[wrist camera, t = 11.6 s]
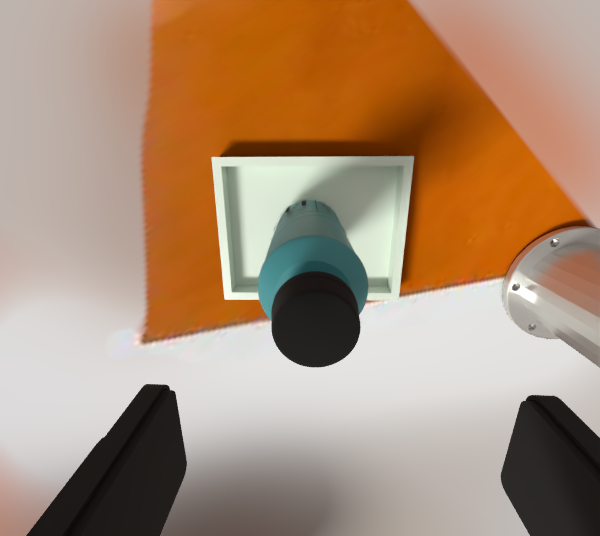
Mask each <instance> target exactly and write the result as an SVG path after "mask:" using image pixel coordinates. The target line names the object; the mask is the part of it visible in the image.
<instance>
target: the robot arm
mask: <svg viewBox="0 0 600 536" xmlns="http://www.w3.org/2000/svg"><path fill="white" fill-rule="evenodd" d="M502 298H503V304H504V308H505V310H506V312H507V315H508V316H509V317H510V318H511V320H512V321H513V322H514V323H515V324H516V325H517V326H519V327H520V328H521V329H522V330H524V331H525V332H527V333H529V334H531V335H534V336H536V337H541V338H546V339H561V340H562V341H564V342H566V343H567V344H568V345H569V346H571V347H572V348H574V349H575V350H576V351H578V352H579V353H581V354H582V355H583V356H585V357H586V358H587V359H589V360H590V361H592V362H593V363H594V364H596V365H597V366H598V367H600V229H598V228H593V227H588V226H572V227H566V228H561V229H558V230H555V231H553V232H550V233H548V234H546V235H544V236H542V237H540V238H538V239H537V240H535V241H534V242H533V243H531V244H530V245H529V246H527V247H526V248H525V249H524V250H523V251H522V252H521V253H520V254H519V255H518V256H517V258H516V259H515V261H514V262H513V263H512V265H511V266H510V268H509V270H508V272H507V274H506V277H505V281H504V284H503V292H502ZM186 466H187V461H186V455H185V449H184V442H183V436H182V430H181V425H180V418H179V413H178V406H177V400H176V394H175V392H174V391H172V390H170V388H169V386H168V385H155V384H154V385H153V384H146V385H144V386H143V388H142V389H141V390H140V391H139V392H138V394H137V395H136V396H135V398H134V399H133V400H132V402H131V403H130V404H129V406H128V407H127V408H126V410H125V411H124V412H123V414H122V415H121V416H120V418H119V419H118V420H117V422H116V423H115V424H114V426H113V427H112V428H111V430H110V431H109V432H108V433H107V435H106V436H105V437H104V438H102V439H101V440H100V441H99V442H98V443H97V444H96V446H95V447H94V448H93V449H92V451H91V452H90V453H89V455H88V456H87V457H86V459H85V460H84V461H83V463H82V464H81V465H80V466H79V468H78V469H77V470H76V472H75V473H74V474H73V476H72V477H71V478H70V479H69V481H68V482H67V483H66V485H65V486H64V487H63V489H62V490H61V491H60V492H59V494H58V495H57V497H56V498H55V499H54V500H53V502H52V503H51V504H50V506H49V507H48V508H47V510H46V511H45V512H44V513H43V515H42V516H41V517H40V519H39V520H38V521H37V523H36V524H35V525H34V527H33V528H32V529H31V530H30V532H29V533H28V534H27V536H160V534H161V532H162V529H163V527H164V524H165V522H166V520H167V517H168V514H169V512H170V510H171V507H172V505H173V503H174V500H175V497H176V495H177V493H178V490H179V488H180V486H181V483H182V481H183V478H184V475H185V472H186ZM501 482H502V485H503V488H504V490H505V492H506V494H507V496H508V497H509V499H510V501H511V503H512V505H513V506H514V508H515V510H516V512H517V513H518V515H519V517H520V519H521V520H522V522H523V524H524V526H525V527H526V529H527V531H528V533H529V534H530V536H600V438H599V437H598V436H597V435H596V434H595V433H594V432H593V431H592V430H591V429H590V428H589V427H588V426H587V425H586V424H585V423H584V422H583V421H582V420H581V419H580V418H579V417H578V416H577V415H576V414H575V413H574V412H573V411H572V410H571V409H570V408H568V406H567V405H566V404H565V403H564V402H563V401H562V400H560V399H559V398H558V397H555V396H540V395H531V396H528V397H527V399H526V401H523V402H521V404H520V408H519V411H518V415H517V418H516V422H515V426H514V429H513V433H512V436H511V440H510V443H509V447H508V451H507V454H506V458H505V462H504V465H503V469H502V472H501Z"/></svg>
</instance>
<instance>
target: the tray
mask: <svg viewBox="0 0 600 536" xmlns="http://www.w3.org/2000/svg"><path fill="white" fill-rule="evenodd" d="M413 163H414V156H330V157H212V168H213V179H214V189H215V200H216V211H217V222H218V233H219V243H220V254H221V265H222V276H223V287H224V297H225V299H232V300H259V296H258V278H259V274H260V270H261V268H262V263H264V262H265V260H266V259H265V258H266V256H267V255H266V251H267V252H268V249H269V246H270V244H271V240H272V239H271V238H273V234H274V233H275V230H276V227H277V225H276V224H278V222H279V219H280V217H281V216H280V214H281V213H282V214H283V213H284V211H285V210H286V209H285V208H288V207H289V206H290V205H293V204H294V202H295V201H296V202H295V203H297V202H300V200H301V199H302V200H301V201H304V200H305V199H306V200H307V199H308V200H313V201H315V199H316V201H318V202H321V203H322V201H323V202H325V203H327V204H325V203H323V204H325V205H327V206H328V207H330V208H331V209H332V210H333V209H334V210H333V211H335V212H334V213H336V215H337V217H338V219H339V221H340V223H341V225H342V227H343V228H344V230H345V232H346V233H345V234H347V235H346V236H347V238H348V240H349V242H350V244H351V246H352V247H353V249H354V251H355V253H356V254H357V255H358V257H359V258H360V260H361V261H362V263H363V265H364V267H365V270H366V273H367V277H368V287H369V288H368V296H367V300H399V292H400V283H401V273H402V264H403V255H404V246H405V237H406V227H407V218H408V209H409V200H410V191H411V182H412V172H413ZM319 200H320V201H319ZM291 203H292V204H291ZM288 205H289V206H288ZM284 209H285V210H284ZM282 214H281V215H282ZM277 220H278V221H277ZM274 227H275V230H274ZM270 239H271V240H270Z"/></svg>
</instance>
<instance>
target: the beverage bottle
mask: <svg viewBox="0 0 600 536" xmlns="http://www.w3.org/2000/svg"><path fill="white" fill-rule="evenodd" d="M301 200H302V199H301ZM301 200H300V202H297V203H295V202H296V201H295V202H294V204H293V205H290V206H289V205H288V206H289V207H288V208H285V209H286V210H285V209H284V210H285V211H284V213H283V214H282V213H281V214H282V215H281V214H280V216H281V217H280V219H279V222H278V224H276V225H277V227H276V230H275V227H274V230H275V233H274V234H273V238H271V239H272V240H271V239H270V240H271V244H270V246H269V249H268V252H267V251H266V255H267V256H266V258H265V259H266V260H265V262H264V263H262V268H261V270H260V274H259V278H258V296H259V300H260V303H261V305H262V308H263V310H264V311H265V313H266V315H267V316H268V317H269V319H270V320H271V321H272V335H273V339H274V341H275V343H276V346H277V347H278V349H279V350H280V351H281V352H282V354H283V355H285V356H286V357H287V358H288V359H289V360H291V361H293V362H295V363H297V364H299V365H303V366H307V367H325V366H329V365H332V364H334V363H337V362H338V361H340V360H342V359H343V358H345V357H346V356H347V355H348V354H349V353H350V352H351V351H352V350H353V348H354V347H355V345H356V343H357V341H358V338H359V334H360V320H359V314H360V313H361V311H362V309H363V307H364V305H365V303H366V300H367V296H368V288H369V287H368V277H367V273H366V270H365V267H364V265H363V263H362V261H361V260H360V258H359V257H358V255H357V254H356V253H355V251H354V249H353V247H352V246H351V244H350V242H349V240H348V238H347V236H346V235H347V234H345V233H346V232H345V230H344V228H343V227H342V225H341V223H340V221H339V219H338V217H337V215H336V213H334V212H335V211H333V210H334V209H333V210H332V209H331V208H330V207H328V206H327V205H325V204H327V203H325V202H323V201H322V203H321V202H318V201H316V199H315V201H313V200H308V199H307V200H306V199H305V200H304V201H301ZM319 201H320V200H319ZM323 203H325V204H323ZM291 204H292V203H291ZM277 221H278V220H277Z"/></svg>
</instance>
